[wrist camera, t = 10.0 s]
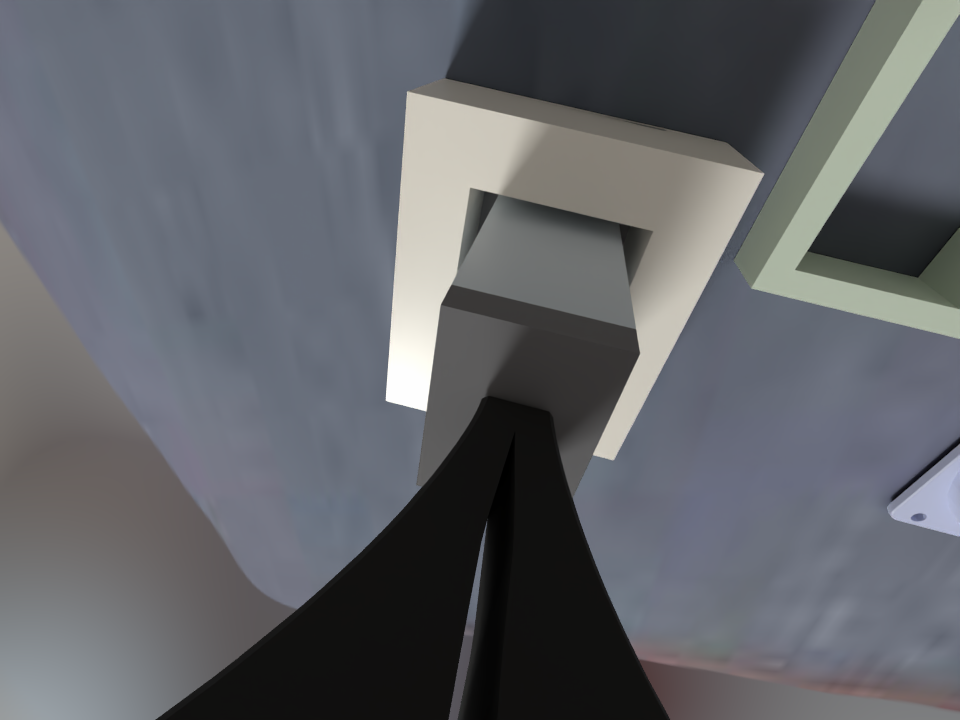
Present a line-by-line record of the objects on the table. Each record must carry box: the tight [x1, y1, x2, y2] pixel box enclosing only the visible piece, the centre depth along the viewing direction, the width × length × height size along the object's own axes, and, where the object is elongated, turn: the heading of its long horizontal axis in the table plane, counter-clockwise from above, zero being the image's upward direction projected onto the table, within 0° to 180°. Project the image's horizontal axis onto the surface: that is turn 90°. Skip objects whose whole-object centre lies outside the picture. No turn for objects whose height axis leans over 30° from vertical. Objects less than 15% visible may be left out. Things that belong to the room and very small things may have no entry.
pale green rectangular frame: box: [734, 0, 960, 339], centre depth 12 cm, size 6×8×2 cm
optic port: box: [386, 78, 764, 460], centre depth 15 cm, size 8×10×4 cm
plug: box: [417, 195, 640, 498], centre depth 13 cm, size 4×5×8 cm
